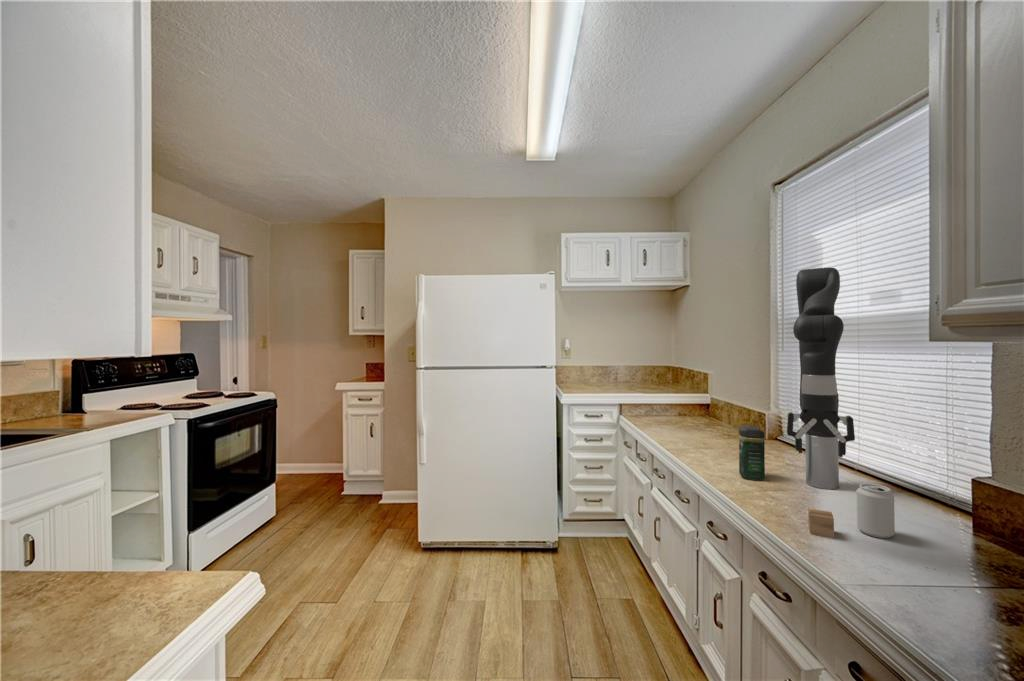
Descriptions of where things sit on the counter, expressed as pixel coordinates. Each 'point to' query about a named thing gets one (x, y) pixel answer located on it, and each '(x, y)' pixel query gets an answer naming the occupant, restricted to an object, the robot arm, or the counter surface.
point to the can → (875, 510)
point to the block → (821, 522)
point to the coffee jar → (751, 452)
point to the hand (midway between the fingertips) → (819, 454)
